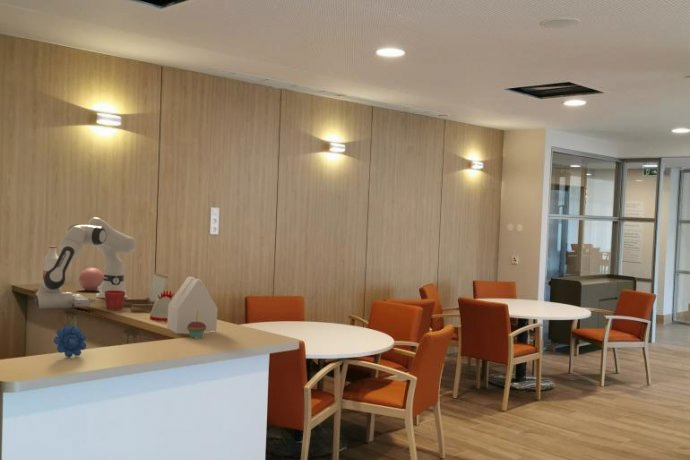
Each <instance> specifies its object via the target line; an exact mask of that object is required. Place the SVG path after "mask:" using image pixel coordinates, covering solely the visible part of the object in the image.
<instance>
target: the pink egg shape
mask: <svg viewBox="0 0 690 460" xmlns="http://www.w3.org/2000/svg"><path fill="white" fill-rule="evenodd" d="M104 274H105V273H104V272H102V271H101V270H100V269H98V268H97V267H88V268H85V269H84V270H82V272H81V273H80V274H79V278H78V282H79V283H78V284H79V285H80V287H82V289H84V290H85V291H88V292H95V291H99V290H98V286H101V284H102V282H103V276H104Z"/></svg>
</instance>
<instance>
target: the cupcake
mask: <svg viewBox="0 0 690 460" xmlns="http://www.w3.org/2000/svg"><path fill="white" fill-rule="evenodd" d="M187 329H188V330H189V332H190V333H189V336H190V338H191V337H201V338H202V336H203V334H204V333H203V332H204V330H206V325H205V324H204V323H201V322H198V312H196V322H191V323H189V325H188V327H187Z"/></svg>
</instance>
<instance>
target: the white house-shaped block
mask: <svg viewBox="0 0 690 460" xmlns="http://www.w3.org/2000/svg"><path fill="white" fill-rule="evenodd" d="M218 310H219V309H218V306H217V305H216V303H215V301H214V300H213V298H212V296H211V294H210V292H209V290H208V289H207V287H206V285H205V283H204V281H203V280H202V279H199V278H196V277H194V276H187V277H186V279H185V280H184V282H183V283H182V285H181V286H180V287H179V289H178V290H177V292H175V294H174V295H173V296H172V298H171V302H170V303H169V306H168V321H166V329H168V330H170V331H172V332H173V333H175V334H177V335H178V334H180V335H181V334H190V332H189V330H188V329H187V327H188V325H189V323H191V322H196V312H198V322H201V323H204V324H205V325H206V330H204V332H210V331H215V332H216V333H217V324H218V323H217V322H218V312H219V311H218Z"/></svg>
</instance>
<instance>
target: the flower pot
mask: <svg viewBox="0 0 690 460" xmlns="http://www.w3.org/2000/svg"><path fill="white" fill-rule="evenodd" d="M124 296H125V292H124V291H116V290H111V291H105V298H104V300H105V306H106V309H107V310H108V311H109V310H111V311H120V310H122V308H123V307H122V305H123V300H124V299H125V298H124Z"/></svg>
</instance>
